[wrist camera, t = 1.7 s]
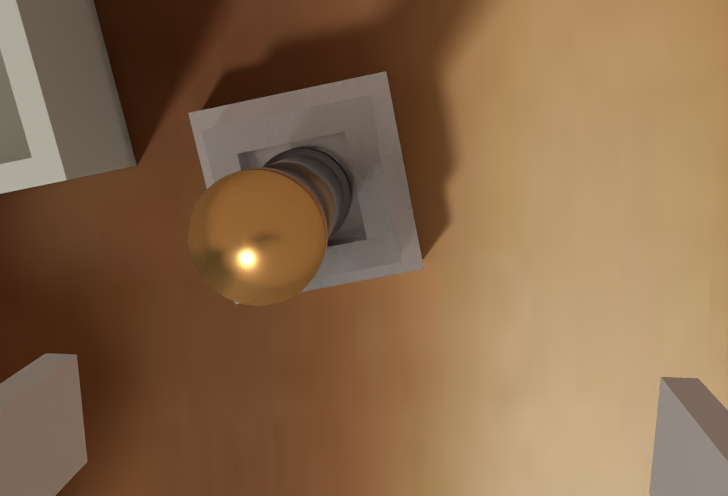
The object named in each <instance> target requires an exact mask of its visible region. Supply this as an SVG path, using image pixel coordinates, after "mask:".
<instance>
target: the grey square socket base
mask: <svg viewBox="0 0 728 496" xmlns="http://www.w3.org/2000/svg"><path fill="white" fill-rule="evenodd" d="M188 114H189V118H190V122H191V126H192V130H193V134H194V138H195V142H196V146H197V150H198V154H199V158H200V163H201V167H202V171H203V175H204V179H205V183H206V187H207V189H208V188H209V187H210V186H211V185H212V184H214V183H215V182H216V181H218V180H219V179H221V178H223V177H225V176H227V175H230V174H232V173H235V172H237V171H240V170H244V169H248V168H255V167H263V166H264V165H265V164H266V163H267V162H268V161H269V160H270V159H271V158H273V157H274V156H276V155H277V154H279V153H282V152H284V151H287V150H289V149H292V148H296V147H301V146H313V147H318V148H322V149H324V150H327V151H329V152H330V153H332V154H334V155H335V156H336V157H337V158H338V159H339V160H340V161H341V162H342V163H343V164H344V165H345V167H346V168H347V170H348V172H349V174H350V177H351V180H352V183H353V201H352V205H351V208H350V211H349V213H348V215H347V217H346V219H345V221H344V223H343V225H342V226H341V227H340V229H339V230H338V231H337V232H336V233H335V234H334V235H333V236H331V237H330V238H329V239H328V244H327V249H326V253H325V256H324V259H323V261H322V263H321V265H320V267H319V269H318V271H317V273H316V275H315V276H314V278H313V279H312V280H311V282H310V283H309V284H308V285H307V286H306V287H305V288H304V289H303V290H302V291H301V292H303V291H308V290H314V289H319V288H324V287H330V286H335V285H340V284H346V283H351V282H357V281H362V280H367V279H373V278H378V277H383V276H389V275H394V274H400V273H405V272H410V271H416V270H421V269H424V267H423V261H422V256H421V250H420V245H419V240H418V235H417V229H416V224H415V219H414V214H413V208H412V203H411V198H410V193H409V188H408V182H407V177H406V172H405V167H404V161H403V156H402V151H401V146H400V140H399V135H398V130H397V125H396V119H395V114H394V109H393V104H392V98H391V93H390V88H389V83H388V77H387V73H386V71H385V72H380V73H375V74H371V75H366V76H361V77H356V78H352V79H347V80H342V81H338V82H333V83H328V84H323V85H319V86H314V87H309V88H304V89H300V90H295V91H290V92H286V93H281V94H276V95H271V96H267V97H262V98H257V99H252V100H248V101H243V102H238V103H233V104H229V105H224V106H219V107H215V108H210V109H205V110H200V111H196V112H191V113H188ZM235 304H238V302H235Z"/></svg>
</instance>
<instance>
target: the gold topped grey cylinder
mask: <svg viewBox="0 0 728 496" xmlns="http://www.w3.org/2000/svg"><path fill="white" fill-rule="evenodd" d="M352 201H353V183H352V180H351V177H350V174H349V172H348V170H347V168H346V167H345V165H344V164H343V163H342V162H341V161H340V160H339V159H338V158H337V157H336V156H335V155H334V154H332V153H330V152H329V151H327V150H324V149H322V148H318V147H313V146H301V147H296V148H292V149H289V150H287V151H284V152H282V153H279V154H277V155H276V156H274V157H273V158H271V159H270V160H269V161H268V162H267V163H266V164H265V165H264V166H263V167H255V168H248V169H244V170H240V171H237V172H235V173H232V174H230V175H227V176H225V177H223V178H221V179H219V180H218V181H216V182H215V183H214V184H212V185H211V186H210V187H209V188H208V189H207V190H206V191H205V192H204V193H203V194H202V195H201V197H200V198H199V200H198V201H197V203H196V205H195V207H194V209H193V212H192V214H191V217H190V222H189V229H188V242H189V248H190V253H191V256H192V259H193V262H194V264H195V266H196V268H197V270H198V271H199V273H200V274H201V276H202V277H203V278H204V280H205V281H206V282H207V283H208V284H209V285H210V286H211V287H212V288H213V289H214V290H216V291H217V292H218V293H220V294H221V295H223V296H225V297H226V298H228V299H231V300H233V301H235V302H238V303H242V304H246V305H254V306H264V305H272V304H276V303H280V302H283V301H285V300H288V299H290V298H291V297H293V296H295V295H297V294H298V293H299V292H301V291H302V290H303V289H304V288H305V287H306V286H307V285H308V284H309V283H310V282H311V280H312V279H313V278H314V276H315V275H316V273H317V271H318V269H319V267H320V265H321V263H322V261H323V259H324V256H325V253H326V249H327V244H328V239H329V238H330V237H331V236H333V235H334V234H335V233H336V232H337V231H338V230H339V229H340V227H341V226H342V225H343V223H344V221H345V219H346V217H347V215H348V213H349V211H350V208H351V205H352Z"/></svg>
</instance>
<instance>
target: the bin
mask: <svg viewBox="0 0 728 496" xmlns="http://www.w3.org/2000/svg"><path fill="white" fill-rule="evenodd" d="M132 166H137V164H136V160H135V156H134V152H133V148H132V145H131V141H130V137H129V133H128V129H127V126H126V122H125V118H124V114H123V110H122V107H121V103H120V99H119V95H118V91H117V87H116V84H115V80H114V76H113V72H112V68H111V65H110V61H109V57H108V53H107V49H106V46H105V42H104V38H103V34H102V30H101V27H100V23H99V19H98V15H97V11H96V8H95V4H94V0H0V194H2V193H7V192H11V191H16V190H21V189H26V188H31V187H36V186H41V185H45V184H50V183H55V182H60V181H65V180H70V179H74V178H79V177H84V176H89V175H94V174H98V173H103V172H108V171H113V170H117V169H122V168H127V167H132Z"/></svg>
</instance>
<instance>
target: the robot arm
mask: <svg viewBox="0 0 728 496" xmlns="http://www.w3.org/2000/svg"><path fill="white" fill-rule="evenodd" d="M86 463H87V452H86V442H85V432H84V422H83V412H82V401H81V391H80V381H79V371H78V361H77V354H51V353H45V354H44V355H42V356H41V357H39V358H38V359H36V360H35V361H33V362H32V363H30V364H29V365H27V366H26V367H24V368H23V369H21V370H20V371H18V372H17V373H15V374H14V375H12V376H11V377H9V378H8V379H6V380H5V381H3V382H2V383H0V496H56V494H57V493H58V492H59V491H60V490H61V489H62V488H63V487H64V486H65V485H66V484H67V483H68V482H69V481H70V480H71V479H72V478H73V477H74V475H75V474H76V473H77V472H78V471H79V470H80V469H81V468H82V467H83V466H84V465H85V464H86ZM649 493H650V495H651V496H728V410H727V409H726V408H725V407H724V406H723V405H722V404H721V403H720V402H719V401H718V399H717V398H716V397H715V396H714V395H713V394H712V393H711V392H710V391H709V390H708V389H707V387H706V386H705V385H704V384H703V383H702V382H701V381H700V380H699V379H698V378H673V377H661V381H660V391H659V401H658V411H657V421H656V431H655V441H654V451H653V461H652V471H651V481H650V491H649Z"/></svg>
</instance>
